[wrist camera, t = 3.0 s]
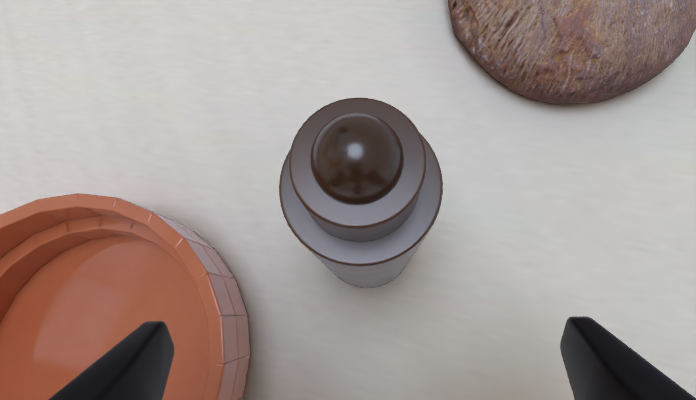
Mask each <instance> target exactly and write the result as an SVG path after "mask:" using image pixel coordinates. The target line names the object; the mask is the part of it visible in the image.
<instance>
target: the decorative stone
mask: <svg viewBox="0 0 696 400" xmlns="http://www.w3.org/2000/svg"><path fill="white" fill-rule="evenodd" d="M448 3H449V9H450V12H451V16H452V24H453V29H454V32H455V34H456V36H457V38H458V39H459V40H460V41H461V42H462V43H463V44H464V45H465V47H466V49H467V50H468V51H469V53H470V54H472V55H473V57H474V58H475V59H476V60H477V61H478V62H479V64H480V65H481V66H482V67H483V68H484V69H485V70H486V71H487V72H488V73H489V74H490V75H491V76H492V77H493V78H495V79H496V80H498V81H499V82H501V83H502V84H503V85H504V86H506V87H508V88H509V89H510V90H511V91H514V92H516V93H518V94H521V95H523V96H526V97H527V98H529V99H536V100H539V101H543V102H548V103H555V104H561V103H583V102H597V101H602V100H606V99H609V98H612V97H614V96H617V95H619V94H622V93H625V92H628V91H630V90H633V89H635V88H637V87H639V86H640V85H642V84H644V83H646V82H647V81H649V80H650V79H652V78H654V77H655V76H657V75H658V74H659V73H661V72H662V71H663V70H664V69H665V68H666V67H668V66H669V65H670V64H671V63H673V62H674V60H675V59H676V58H677V57H678V56H679V55H680V54H681V53H682V52H683V51H684V49H685V47H686V46H687V45H688V44H689V41H690V39H691V37H692V34H693V32H694V31H695V29H696V0H448Z"/></svg>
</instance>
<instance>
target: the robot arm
mask: <svg viewBox="0 0 696 400" xmlns="http://www.w3.org/2000/svg"><path fill="white" fill-rule="evenodd" d="M560 349H561V354H562V358H563V361H564V364H565V368H566V371H567V374H568V378H569V381H570V385H571V388H572V391H573V395H574V398H575V400H696V398H694V397H693V396H692V395H691V394H689V393H688V392H687V391H685V390H684V389H683V388H681V387H680V386H679V385H678V384H676V383H675V382H674V381H672V380H671V379H670V378H668V377H667V376H666V375H665V374H663V373H662V372H661V371H659V370H658V369H657V368H655V367H654V366H653V365H652V364H650V363H649V362H648V361H646V360H645V359H644V358H642V357H641V356H640V355H639V354H637V353H636V352H635V351H633V350H632V349H631V348H629V347H628V346H627V345H626V344H624V343H623V342H622V341H620V340H619V339H618V338H616V337H615V336H614V335H613V334H611V333H610V332H609V331H607V330H606V329H605V328H603V327H602V326H601V325H600V324H598V323H597V322H596V321H594V320H593V319H592V318H590V317H570V318H568V320H567V322H566V325H565V329H564V332H563V336H562V339H561V344H560ZM174 350H175V349H174V343H173V341H172V338H171V335H170V333H169V330H168V327H167V325H166V323H165V322H163V321H147V322H145V323H143V324H142V325H140V326H139V327H138V328H137V329H135V330H134V331H133V332H132V333H130V334H129V335H128V336H127V337H125V338H124V339H123V340H122V341H120V342H119V343H118V344H117V345H115V346H114V347H113V348H112V349H110V350H109V351H108V352H107V353H105V354H104V355H103V356H102V357H100V358H99V359H98V360H97V361H95V362H94V363H93V364H92V365H90V366H89V367H88V368H87V369H85V370H84V371H83V372H82V373H80V374H79V375H78V376H77V377H76V378H74V379H73V380H72V381H71V382H69V383H68V384H67V385H66V386H64V387H63V388H62V389H61V390H59V391H58V392H57V393H56V394H54V395H53V396H52V397H51V398H49V399H48V400H162V398H163V394H164V391H165V387H166V383H167V380H168V376H169V372H170V368H171V365H172V361H173V357H174Z"/></svg>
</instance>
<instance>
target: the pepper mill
mask: <svg viewBox="0 0 696 400" xmlns="http://www.w3.org/2000/svg"><path fill="white" fill-rule="evenodd" d="M442 193H443V182H442V174H441V170H440V166H439V162H438V160H437V158H436V155H435V153H434V151H433V150H432V148H431V146H430V145H429V143H428V142H427V141H426V139H425V138H424V137H423V136H422V135H421V134H420V133H419V131H418V130H417V128H416V127H415V125H414V124H413V123H412V121H411V120H410V119H409V118H408V117H407V116H406V115H405V114H403V113H402V112H401V111H399V110H398V109H396V108H395V107H393V106H391V105H389V104H387V103H384V102H382V101H378V100H374V99H368V98H349V99H344V100H339V101H336V102H333V103H331V104H329V105H326V106H324V107H323V108H321V109H320V110H318V111H316V112H315V113H314V114H313V115H312V116H310V117H309V118H308V119H307V120H306V122H305V123H304V124H303V125H302V127H301V128H300V129H299V131H298V133H297V134H296V136H295V138H294V141H293V143H292V146H291V149H290V151H289V153H288V155H287V156H286V159H285V162H284V164H283V167H282V171H281V175H280V184H279V195H280V202H281V207H282V211H283V214H284V217H285V219H286V221H287V223H288V225H289V227H290V228H291V230H292V232H293V233H294V235H295V236H296V237H297V238H298V239H299V240H300V242H301V243H302V244H303V245H305V246H306V247H307V248H308V249H309V250H310V251H311V252H312V253H313V254H314V255H315V256H316V257H317V258H319V259H320V260H321V261H322V262H323V263H324V264H325V265H326V266H327V267H328V268H329V269H330V270H332V271H333V272H334V273H335V274H336V275H337V276H338V277H339V278H340V279H342V280H343V281H345V282H347V283H349V284H351V285H354V286H357V287H362V288H373V287H378V286H382V285H384V284H387V283H389V282H390V281H392V280H393V279H395V278H396V277H397V276H398V275H399V274H400V273H401V272H402V271H403V269H404V268H405V266H406V265H407V263H408V262H409V260H410V259H411V257H412V256H413V254H414V253H415V251H416V250H417V248H418V247H419V245H420V244H421V242H422V241H423V239H424V238H425V236H426V235H427V233H428V232H429V230H430V228H431V227H432V225H433V224H434V222H435V219H436V217H437V215H438V212H439V209H440V205H441V200H442Z"/></svg>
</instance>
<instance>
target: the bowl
mask: <svg viewBox="0 0 696 400" xmlns="http://www.w3.org/2000/svg"><path fill="white" fill-rule="evenodd" d="M147 321H163V322H165V323H166V325H167V327H168V330H169V333H170V335H171V338H172V341H173V343H174V349H175V350H174V357H173V361H172V365H171V368H170V372H169V376H168V380H167V383H166V387H165V391H164V394H163V398H162V400H242V397H243V394H244V388H245V382H246V376H247V371H248V365H249V359H250V356H249V355H250V345H249V331H248V317H247V312H246V310H245V307H244V304H243V301H242V298H241V295H240V292H239V289H238V286H237V283H236V280H234V277H233V275H232V274H231V272H230V271H229V270H228V268H227V267H226V265H225V264H224V262H223V261H222V259H221V258H220V256H219V255H218V254H217V252H216V251H215V250H214V248H212V247H211V246H210V245H209V244H207V243H206V242H205V241H204V240H203V239H201V238H200V237H199V236H198V235H196V234H195V233H194V232H193V231H192V230H190V229H189V228H187V227H185V226H183V225H181V224H178V223H176V222H174V221H172V220H169V219H167V218H165V217H163V216H160V215H158V214H156V213H154V212H151V211H149V210H147V209H144V208H142V207H139V206H137V205H135V204H132V203H130V202H128V201H125V200H123V199H120V198H116V197H107V196H98V195H90V194H71V195H64V196H57V197H51V198H44V199H39V200H35V201H33V202H30V203H28V204H25V205H23V206H21V207H18V208H16V209H13V210H11V211H8V212H6V213H3V214H1V215H0V400H48V399H49V398H51V397H52V396H53V395H54V394H56V393H57V392H58V391H59V390H61V389H62V388H63V387H64V386H66V385H67V384H68V383H69V382H71V381H72V380H73V379H74V378H76V377H77V376H78V375H79V374H80V373H82V372H83V371H84V370H85V369H87V368H88V367H89V366H90V365H92V364H93V363H94V362H95V361H97V360H98V359H99V358H100V357H102V356H103V355H104V354H105V353H107V352H108V351H109V350H110V349H112V348H113V347H114V346H115V345H117V344H118V343H119V342H120V341H122V340H123V339H124V338H125V337H127V336H128V335H129V334H130V333H132V332H133V331H134V330H135V329H137V328H138V327H139V326H140V325H142V324H143V323H145V322H147Z"/></svg>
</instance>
